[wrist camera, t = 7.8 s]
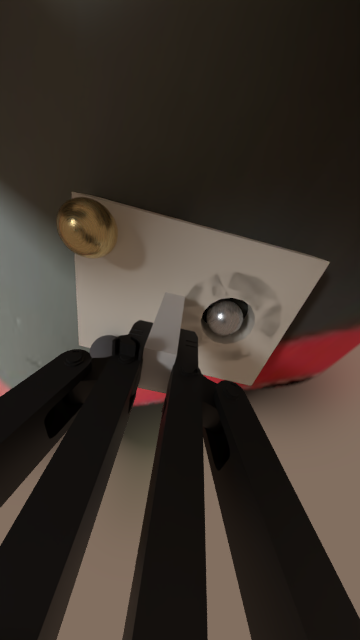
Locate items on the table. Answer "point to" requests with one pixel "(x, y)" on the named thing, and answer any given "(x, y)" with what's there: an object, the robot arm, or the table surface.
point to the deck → (193, 286)
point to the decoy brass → (87, 227)
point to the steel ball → (224, 317)
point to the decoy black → (102, 346)
